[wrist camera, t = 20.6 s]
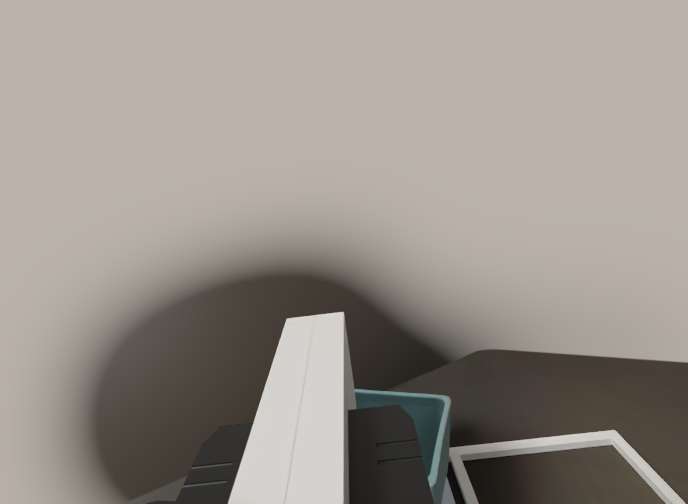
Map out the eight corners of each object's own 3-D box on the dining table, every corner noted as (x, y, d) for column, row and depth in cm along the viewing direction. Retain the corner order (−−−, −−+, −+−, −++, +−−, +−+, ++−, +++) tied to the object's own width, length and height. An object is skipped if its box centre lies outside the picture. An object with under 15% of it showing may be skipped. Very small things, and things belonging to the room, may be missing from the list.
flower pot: (347, 484, 36) (333, 385, 34) (459, 501, 33) (452, 393, 31) (303, 587, 28) (282, 465, 26) (446, 621, 25) (435, 487, 23)
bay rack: (606, 427, 39) (607, 378, 38) (803, 635, 23) (815, 559, 22) (293, 461, 40) (286, 413, 39) (261, 689, 23) (245, 617, 22)
